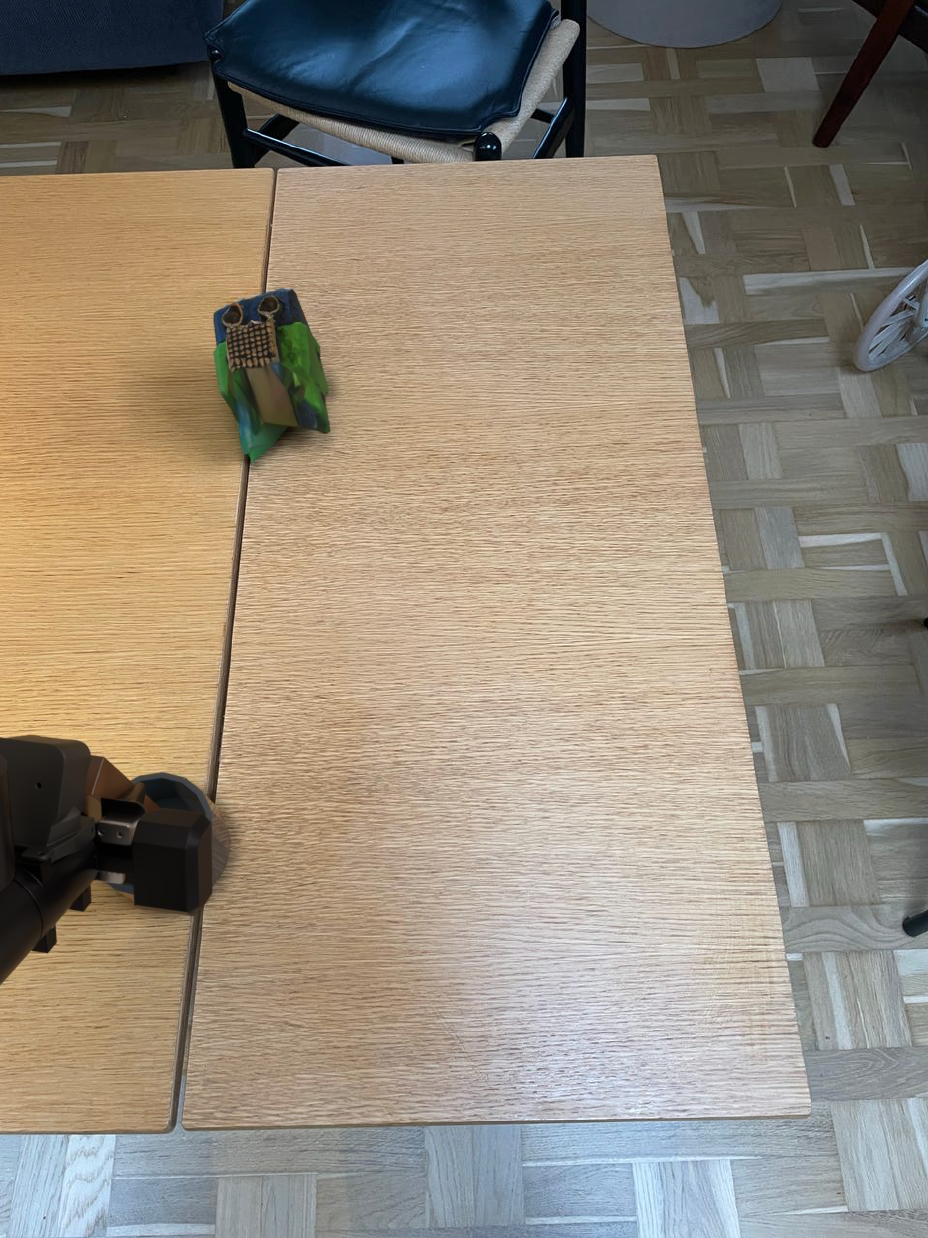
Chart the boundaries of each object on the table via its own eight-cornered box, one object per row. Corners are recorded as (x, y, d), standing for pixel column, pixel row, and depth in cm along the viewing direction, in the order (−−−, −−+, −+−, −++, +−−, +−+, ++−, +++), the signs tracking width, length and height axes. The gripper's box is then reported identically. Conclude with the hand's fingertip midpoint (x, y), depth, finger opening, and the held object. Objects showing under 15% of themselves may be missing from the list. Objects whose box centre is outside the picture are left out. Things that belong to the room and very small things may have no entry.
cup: (173, 934, 76) (149, 921, 72) (91, 862, 79) (63, 845, 75) (254, 837, 80) (237, 819, 75) (172, 772, 83) (151, 750, 78)
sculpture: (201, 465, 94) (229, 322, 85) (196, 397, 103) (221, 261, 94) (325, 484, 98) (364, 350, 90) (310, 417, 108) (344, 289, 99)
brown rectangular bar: (160, 850, 74) (91, 795, 62) (127, 845, 74) (52, 790, 62) (169, 816, 75) (104, 756, 63) (137, 812, 75) (66, 751, 63)
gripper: (150, 805, 51) (251, 694, 66) (-181, 763, 53) (-11, 664, 68) (157, 985, 54) (251, 841, 69) (-155, 939, 56) (2, 808, 71)
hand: (123, 786), depth 69 cm, fingers closed on brown rectangular bar, 2 cm apart
